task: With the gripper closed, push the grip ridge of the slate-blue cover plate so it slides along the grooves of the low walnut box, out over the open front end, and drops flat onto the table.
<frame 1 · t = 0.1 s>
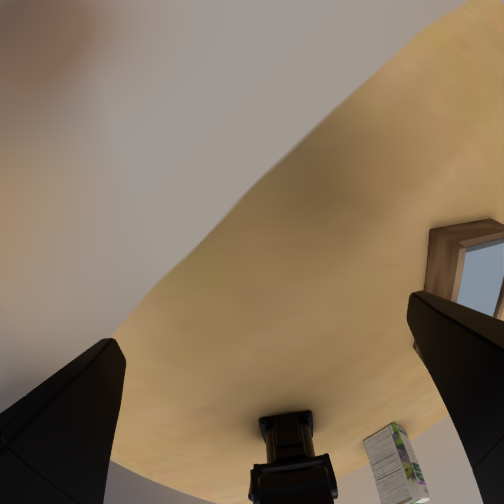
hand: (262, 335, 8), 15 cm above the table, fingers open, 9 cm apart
syrup box: (384, 434, 36), on the table
cover plate: (473, 300, 22), point 3 cm above the table, touching pencil box
pencil box: (455, 286, 25), on the table
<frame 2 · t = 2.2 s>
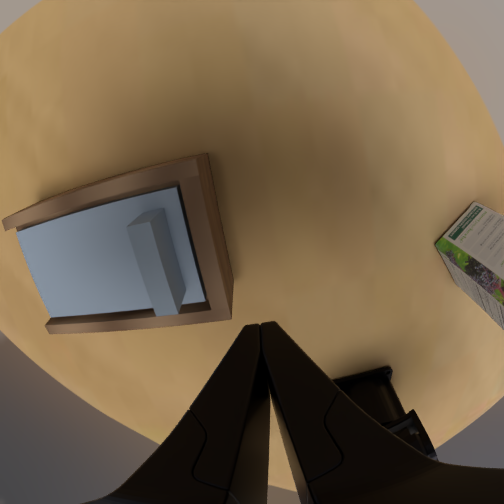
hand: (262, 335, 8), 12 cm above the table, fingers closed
syrup box: (464, 243, 20), on the table
cover plate: (102, 259, 16), point 3 cm above the table, touching pencil box
pencil box: (125, 239, 19), on the table
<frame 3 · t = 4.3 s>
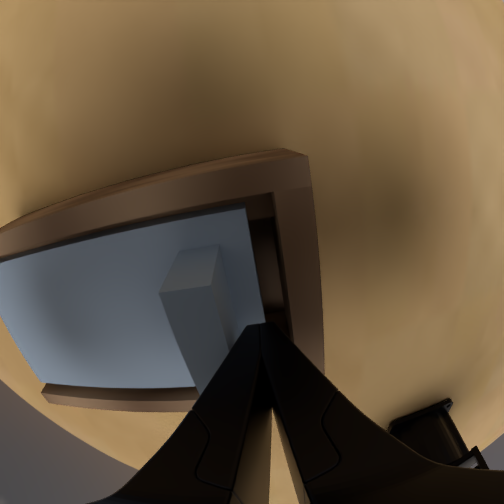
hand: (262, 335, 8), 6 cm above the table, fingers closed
cover plate: (107, 315, 10), point 3 cm above the table, touching gripper, pencil box
pencil box: (149, 274, 13), on the table
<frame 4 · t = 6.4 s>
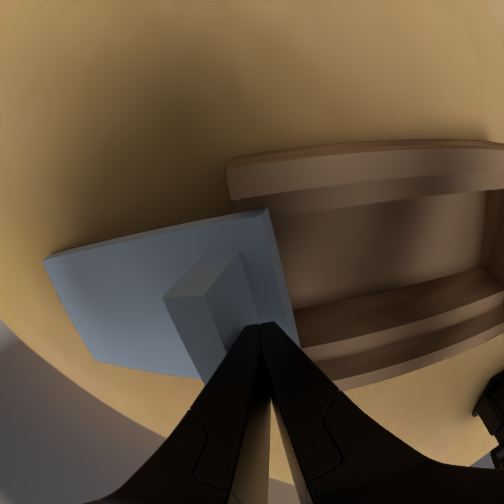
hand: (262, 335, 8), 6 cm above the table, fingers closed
cover plate: (151, 307, 12), point 2 cm above the table, tilted 18°
pencil box: (394, 234, 13), on the table
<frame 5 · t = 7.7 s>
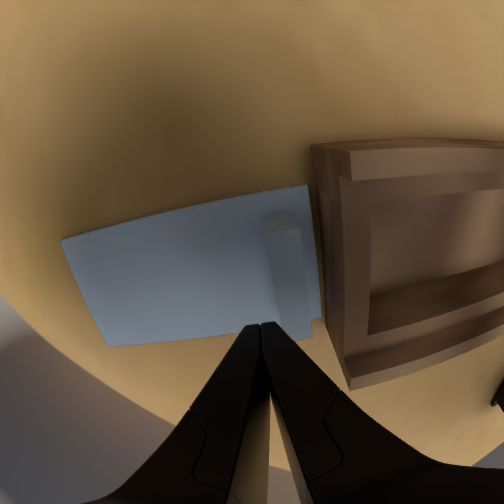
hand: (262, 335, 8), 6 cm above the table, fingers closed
cover plate: (188, 273, 14), on the table
pencil box: (445, 225, 13), on the table
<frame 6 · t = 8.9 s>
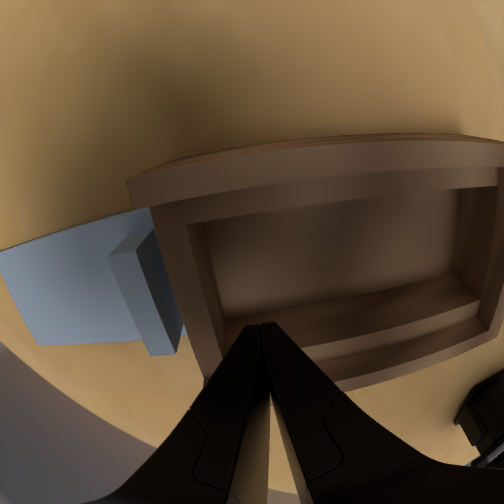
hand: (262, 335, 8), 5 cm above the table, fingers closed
cover plate: (87, 285, 14), on the table
pencil box: (347, 238, 13), on the table
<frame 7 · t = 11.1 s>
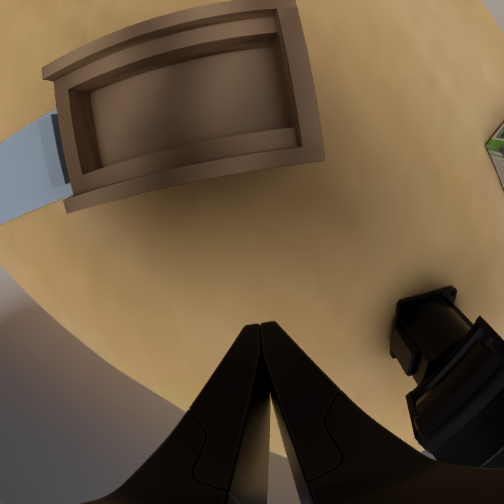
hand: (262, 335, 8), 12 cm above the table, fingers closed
cover plate: (34, 166, 17), on the table
pencil box: (182, 104, 16), on the table
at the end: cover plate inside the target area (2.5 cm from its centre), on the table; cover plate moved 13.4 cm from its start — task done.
